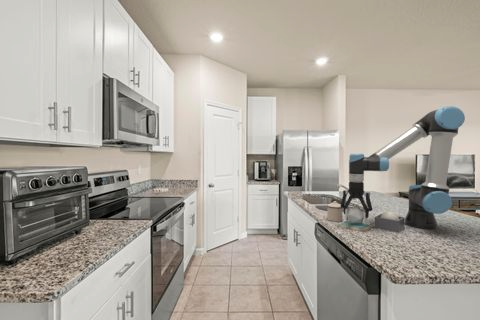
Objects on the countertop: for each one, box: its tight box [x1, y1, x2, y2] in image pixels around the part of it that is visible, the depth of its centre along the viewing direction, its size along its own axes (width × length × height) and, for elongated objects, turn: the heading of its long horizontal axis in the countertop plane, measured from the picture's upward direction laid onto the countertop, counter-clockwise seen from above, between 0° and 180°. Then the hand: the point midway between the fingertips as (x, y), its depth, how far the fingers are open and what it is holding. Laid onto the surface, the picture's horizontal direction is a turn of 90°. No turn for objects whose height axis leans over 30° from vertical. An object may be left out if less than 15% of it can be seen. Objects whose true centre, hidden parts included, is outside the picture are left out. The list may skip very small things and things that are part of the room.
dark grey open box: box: [374, 213, 406, 234], centre depth 139 cm, size 12×12×6 cm
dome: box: [380, 210, 400, 221], centre depth 139 cm, size 9×9×9 cm
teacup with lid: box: [326, 200, 344, 223], centre depth 157 cm, size 12×9×12 cm
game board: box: [337, 219, 374, 233], centre depth 141 cm, size 14×14×1 cm
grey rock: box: [347, 207, 364, 223], centre depth 141 cm, size 8×9×10 cm
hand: (355, 221), depth 141 cm, fingers closed on grey rock, 9 cm apart
